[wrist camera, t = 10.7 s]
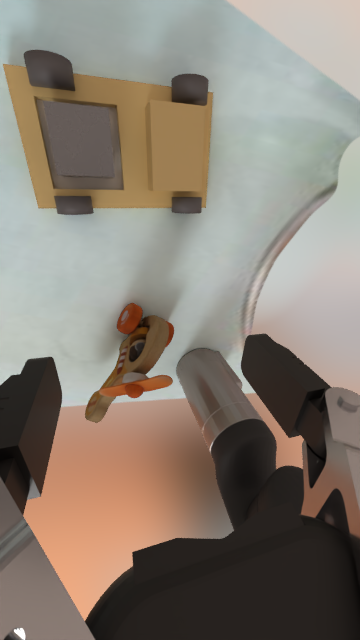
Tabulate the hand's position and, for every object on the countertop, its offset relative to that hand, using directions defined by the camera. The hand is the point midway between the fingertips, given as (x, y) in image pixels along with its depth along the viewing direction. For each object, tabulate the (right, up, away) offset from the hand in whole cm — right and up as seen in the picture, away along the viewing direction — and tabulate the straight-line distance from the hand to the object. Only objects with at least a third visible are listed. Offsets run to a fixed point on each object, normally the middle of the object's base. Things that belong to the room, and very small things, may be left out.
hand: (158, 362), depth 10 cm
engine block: (-10, +21, +17) cm, 29 cm away
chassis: (-5, +22, +19) cm, 30 cm away
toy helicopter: (-9, -3, +32) cm, 33 cm away
